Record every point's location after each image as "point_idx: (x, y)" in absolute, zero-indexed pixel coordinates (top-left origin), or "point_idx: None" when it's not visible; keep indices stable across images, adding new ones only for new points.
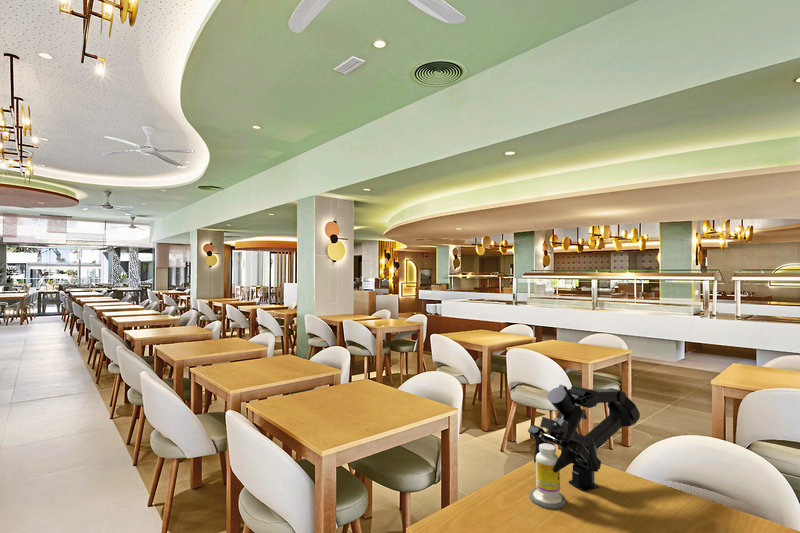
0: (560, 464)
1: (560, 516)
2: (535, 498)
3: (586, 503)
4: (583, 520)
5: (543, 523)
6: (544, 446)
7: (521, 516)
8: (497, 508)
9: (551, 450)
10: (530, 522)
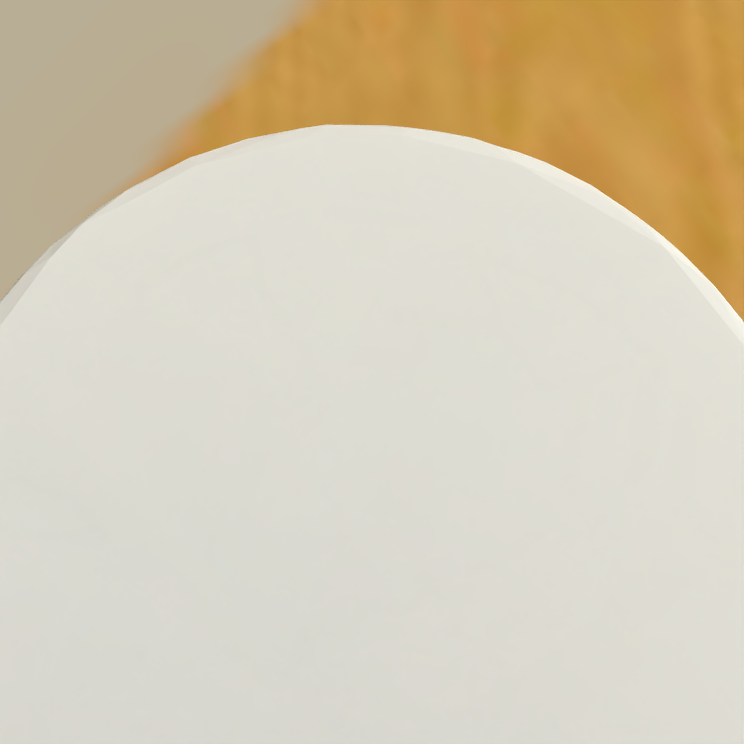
0: None
1: None
2: None
3: None
4: None
5: (236, 123)
6: (476, 443)
7: (385, 83)
8: (558, 41)
9: (3, 329)
10: (303, 68)
